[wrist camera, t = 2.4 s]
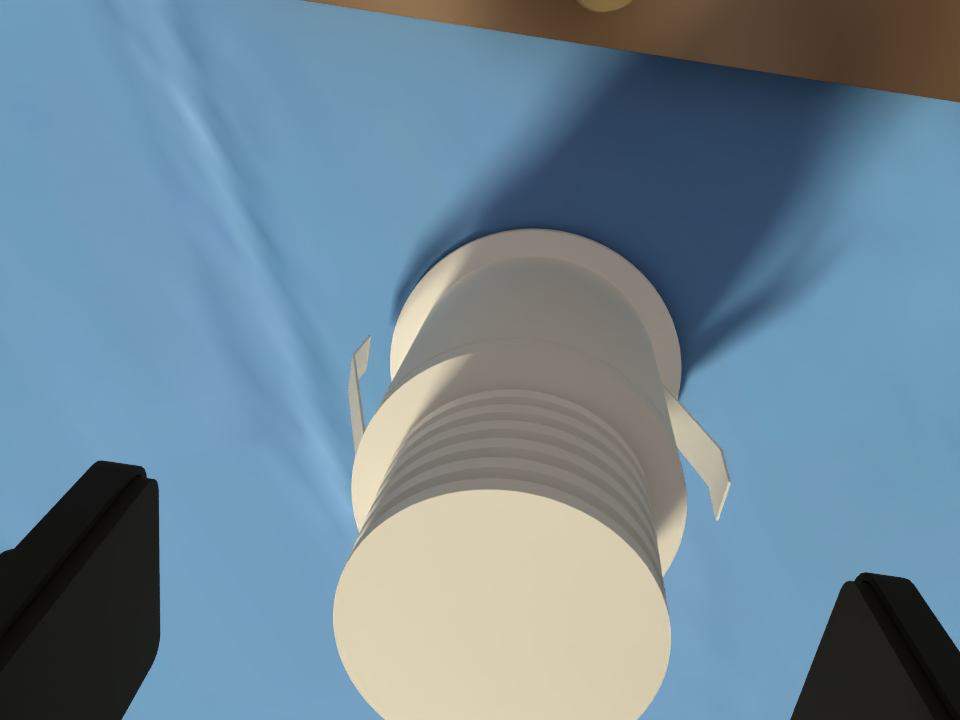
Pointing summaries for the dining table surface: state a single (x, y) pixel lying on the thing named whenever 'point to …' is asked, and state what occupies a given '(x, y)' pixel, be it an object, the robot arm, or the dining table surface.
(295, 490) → the dining table surface
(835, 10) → the pin board
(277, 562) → the dining table surface
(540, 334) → the downlight
